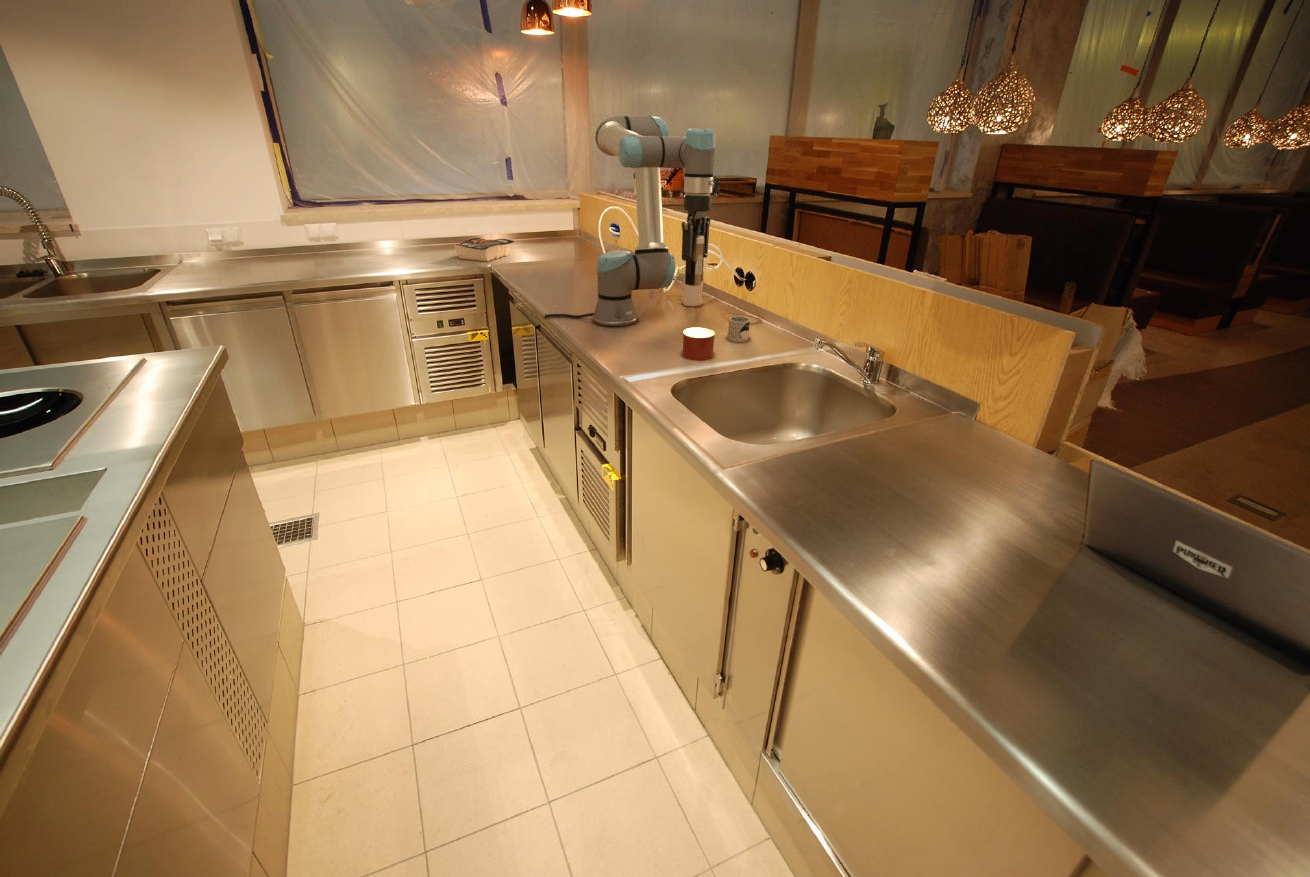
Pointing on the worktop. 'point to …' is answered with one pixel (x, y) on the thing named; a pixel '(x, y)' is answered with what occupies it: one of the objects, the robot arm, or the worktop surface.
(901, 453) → the worktop surface
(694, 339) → the tin
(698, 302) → the milk bottle
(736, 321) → the mug
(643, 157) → the robot arm
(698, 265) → the sprinkles bottle
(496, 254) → the food packaging
